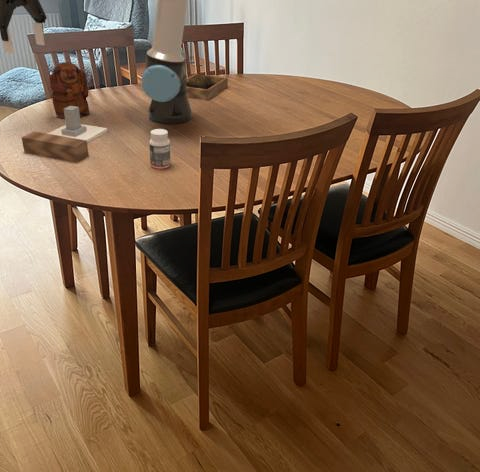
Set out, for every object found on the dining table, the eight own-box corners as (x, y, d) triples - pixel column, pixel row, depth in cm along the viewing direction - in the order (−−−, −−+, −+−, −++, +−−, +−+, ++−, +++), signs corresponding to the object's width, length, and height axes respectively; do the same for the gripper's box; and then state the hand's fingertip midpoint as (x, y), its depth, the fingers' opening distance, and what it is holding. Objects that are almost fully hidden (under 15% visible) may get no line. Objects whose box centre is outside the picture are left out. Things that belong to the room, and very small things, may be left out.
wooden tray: (227, 87, 218) (227, 77, 216) (208, 100, 200) (208, 90, 198) (195, 83, 222) (195, 73, 220) (173, 95, 204) (173, 85, 202)
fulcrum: (107, 131, 166) (105, 104, 161) (79, 147, 153) (75, 118, 148) (70, 125, 169) (67, 98, 165) (40, 140, 156) (35, 112, 151)
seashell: (206, 84, 220) (209, 69, 215) (220, 93, 216) (223, 78, 211) (177, 90, 209) (179, 74, 205) (191, 100, 205) (194, 83, 201)
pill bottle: (151, 161, 146) (149, 127, 141) (171, 161, 146) (170, 128, 141) (149, 169, 141) (147, 135, 136) (170, 169, 142) (169, 135, 136)
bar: (88, 156, 148) (86, 140, 145) (77, 163, 143) (75, 146, 141) (36, 147, 152) (34, 131, 150) (24, 153, 148) (21, 137, 145)
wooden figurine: (62, 121, 172) (54, 66, 163) (53, 116, 176) (45, 63, 167) (93, 114, 180) (87, 62, 170) (84, 110, 183) (78, 58, 174)
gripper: (31, -32, 157) (43, 40, 168) (-33, -28, 137) (-15, 54, 148) (51, -31, 155) (61, 43, 166) (-11, -26, 135) (6, 57, 145)
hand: (25, 48), depth 157 cm, fingers open, 13 cm apart
